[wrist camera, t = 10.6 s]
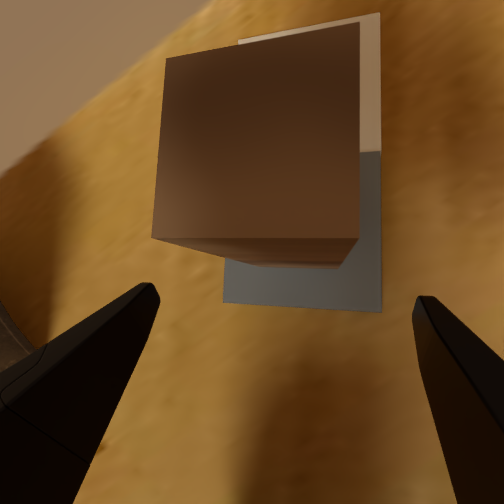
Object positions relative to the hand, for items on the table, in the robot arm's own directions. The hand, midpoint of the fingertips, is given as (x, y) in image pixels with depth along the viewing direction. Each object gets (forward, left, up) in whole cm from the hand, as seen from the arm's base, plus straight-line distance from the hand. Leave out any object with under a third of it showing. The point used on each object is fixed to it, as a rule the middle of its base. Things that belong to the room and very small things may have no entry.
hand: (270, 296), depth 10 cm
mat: (+3, -2, -9) cm, 10 cm away
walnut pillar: (+3, -2, -9) cm, 10 cm away
